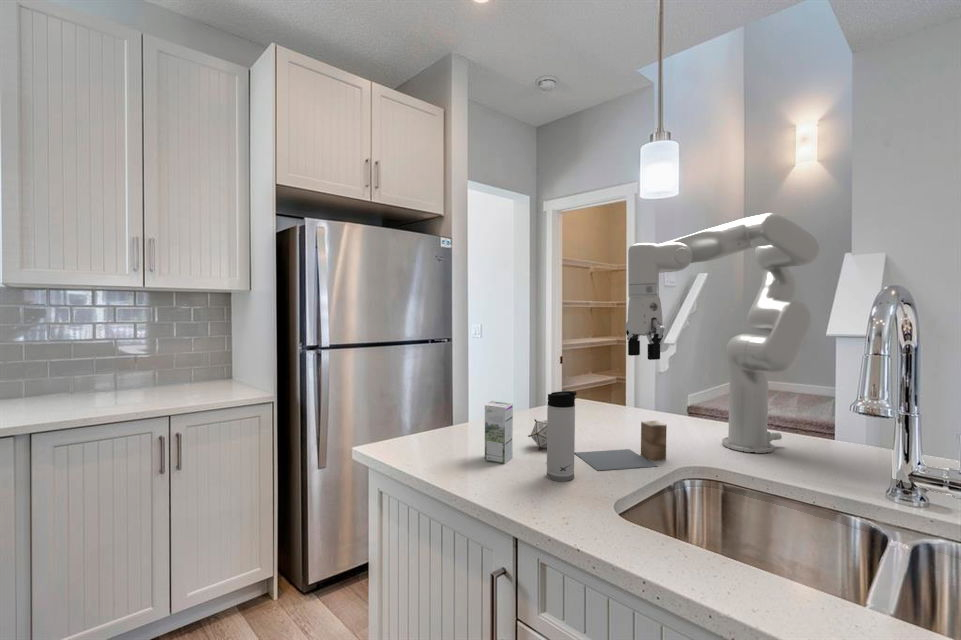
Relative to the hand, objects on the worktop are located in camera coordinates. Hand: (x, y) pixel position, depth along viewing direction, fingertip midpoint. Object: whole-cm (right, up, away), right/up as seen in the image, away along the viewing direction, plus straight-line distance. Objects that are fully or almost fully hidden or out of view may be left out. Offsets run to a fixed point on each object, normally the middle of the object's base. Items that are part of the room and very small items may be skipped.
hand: (643, 357), depth 127 cm
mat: (-8, -26, -2) cm, 27 cm away
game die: (-25, -26, +7) cm, 36 cm away
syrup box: (-38, -26, -3) cm, 46 cm away
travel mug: (-24, -27, -15) cm, 39 cm away
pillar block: (+2, -26, 0) cm, 26 cm away
